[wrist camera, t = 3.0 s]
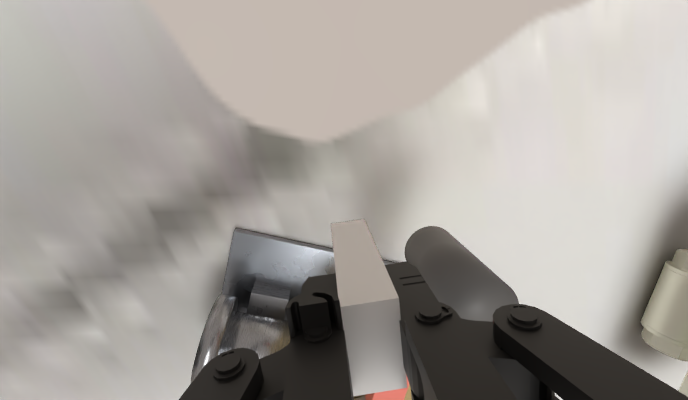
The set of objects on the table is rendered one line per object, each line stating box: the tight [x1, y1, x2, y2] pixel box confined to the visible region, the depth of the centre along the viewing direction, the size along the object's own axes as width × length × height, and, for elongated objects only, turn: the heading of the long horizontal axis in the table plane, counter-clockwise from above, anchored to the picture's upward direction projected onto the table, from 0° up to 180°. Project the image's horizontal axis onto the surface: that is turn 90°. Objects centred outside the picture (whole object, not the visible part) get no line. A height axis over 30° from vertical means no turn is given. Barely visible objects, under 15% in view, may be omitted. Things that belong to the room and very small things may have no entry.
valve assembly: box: [191, 228, 412, 400], centre depth 26 cm, size 24×14×10 cm, turn 75°
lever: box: [354, 226, 519, 400], centre depth 17 cm, size 16×4×6 cm, turn 165°
